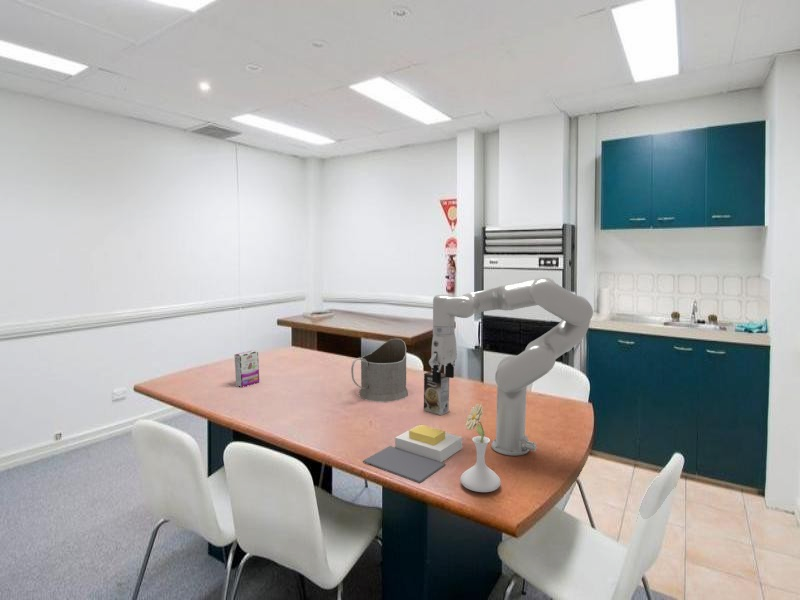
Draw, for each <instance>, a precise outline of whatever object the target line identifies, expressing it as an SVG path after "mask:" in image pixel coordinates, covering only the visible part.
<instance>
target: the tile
mask: <svg viewBox="0 0 800 600" xmlns="http://www.w3.org/2000/svg"><path fill="white" fill-rule="evenodd" d="M416 426H417V427H416ZM416 426H414V427H415V428H414V427H412V428H413V429H412V428H411V429H412V430H410V429H409V430H410V431H409V438H411V439H414V440H418V441H421V442H424V443H428V444H431V445H435V444H437V443H439V442H440V441H442V440H444V439H445V432H446V431H445V430H442V429H438V428H435V427H431V426H428V425H424V424H420V425H419V426H418V425H416Z"/></svg>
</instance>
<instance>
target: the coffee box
mask: <svg viewBox="0 0 800 600" xmlns="http://www.w3.org/2000/svg"><path fill="white" fill-rule="evenodd" d="M449 408H450V378H449V377H446V376H445V373H443V372H441V383H435V382H432V371H428V372H424V373H423V411H425V412H428V413H431V414H434V415H438V416H442V415H445V414H447V413H449V412H450V409H449Z"/></svg>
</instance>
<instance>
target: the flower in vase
mask: <svg viewBox="0 0 800 600" xmlns="http://www.w3.org/2000/svg"><path fill="white" fill-rule="evenodd" d="M470 409H471V410H470V412H469V414H467V416H466V419H467V420H466V423H465V427H466V430H467V431H472V430H474V429H475V428H476V429H475V430H476V433H477V434H478V435H477V436H474V437H472V440H471V441H472V442H473V443H474V445H475V449H476V450H475V451H476V462H475V464H474V465H473V466H470V467H469V468H468V469H466V470H465V471H464V472H463V473H462V474H461V475H460V478H459V479H460V480H459V481H460V483H461V485H462V486H464V488H466V489H467V490H470V491H473V492H477V493H489V492H490V493H491V492H493V491H496V490H498V489H499V488H500V486H501V483H502V482H501V478H500V477H499V475H498V474H497V473H496V472H495V471H494V470H492V469H491V468H490V467H488V466H487V464H486V460H485V458H486V456H485V455H486V450H487V446H488V444H489V443H490V441H491V439H490V438H489V437H487V436H485V434H486V431H485V430H484V427H483V424H482V422H481V419H482V417H483V414H484V412H483V410H484V408H483V405H482V404H479V403H476V404H475V405H474V406H472V407H471V408H470Z"/></svg>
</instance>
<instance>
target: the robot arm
mask: <svg viewBox="0 0 800 600" xmlns="http://www.w3.org/2000/svg"><path fill="white" fill-rule="evenodd" d="M536 306H539V307H541V308H542V309H543V310H545V311H547V312H548V313H550V314H551V315H553V316H556V317H557V318H558V319H561V320H560V322H559V323H558V324H556V325H555V326H553V327H552V328H551V329H550V330H548V331H547V332H546V333H545V332H544V334H542V335H541V336H539V337H537V338H536V339H534V340H532V341H530V342H529V343H528V344H526V345H527V346H526V347H525V349H524V350H522V352H520V353H519V354H517V355H508V356H506V357H504V358H502V359H501V360H500V362H499V363H498V364H497V365H498V366H497V367H496V370H495V377H494V378H495V383H496V385H497V392H496V398H497V399H496V425H495V426H496V427H495V429H496V430H495V431H496V432H495V439H494V440H492V441H491V445H490V446H491V448H492V450H493V451H495V452H497V453H499V454H501V455H505V456H511V457H513V456H523V455H526V454H528V453H529V452H530V451H533V452H536V451H537V445H536V442H533V441H530V440H529V439H528V437H529V436H528V435H526V415H527V413H526V411H527V410H526V409H527V408H526V405H527V388H528V386H530V385H531V384H533V383H534V382H537V381H538V380H540V379H541V378H542V377H544V376H545V375H547V374H549V373H550V372H551V370H552V369H553V368H554V366H555V364H556V360H557V359H558V358H560V357H561V356H563V355H564V354H565V353H567V352H568V351H569V350H570V351H571V350H572V348H575V346H577V345H578V344H579V343H580V342H581V341H582V340H583V339H584V337H585V336H586V334H587V333H588V330H589V327H590V323H591V319H592V318H593V315H594V309H593V306H592V304H591V303H590V302H589V300H588V299H586V298H585V297H584V296H582V295H577V294H575V293H574V292H572V291H570V290H568V289H566V288H564V287H563V286H561V285H559V284H557V283H556V282H555V281H554V280H553V279H551V278H549V277H539V278H538V277H537V278H534V279H529V280H525V281H524V280H523V281H519V282H515V283H509V284H505V285H501V286H497V287H493V288H488V289H484V290H478V291H475V292H474V291H472V292H469V293H468V292H467V293H465V294H462V295H459V296H453V295H451V294H436V295H434V297H433V300H432V340H431V357H430V359H429V360H428V364H429V366H430V369H431V372H432V382H435V383H441V373H442V372H441V369H442V366H445V367H444V368H445V373H444V374H445V376H446V377H449V379H453V378H454V377H455V374H454V373H455V362H456V360H457V356H458V353H457V352H458V351H457V338H456V334H455V331H456V330H455V328H456V326H455V321H456V320H455V319H456V317H457V318H459V319H460V318H461V319H468V318H470V317H472V316H473V315H474V314H479V313H484V312H488V311H489V312H490V311H497V310H499V311H513V310H518V309H523V308H529V307H536Z"/></svg>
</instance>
